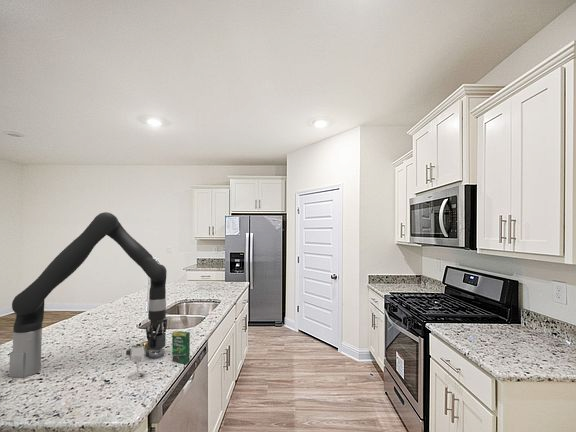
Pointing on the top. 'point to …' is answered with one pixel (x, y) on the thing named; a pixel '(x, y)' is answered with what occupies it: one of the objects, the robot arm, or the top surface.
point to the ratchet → (151, 353)
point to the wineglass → (137, 357)
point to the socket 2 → (158, 341)
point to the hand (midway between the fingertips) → (156, 345)
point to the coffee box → (181, 347)
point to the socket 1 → (145, 344)
